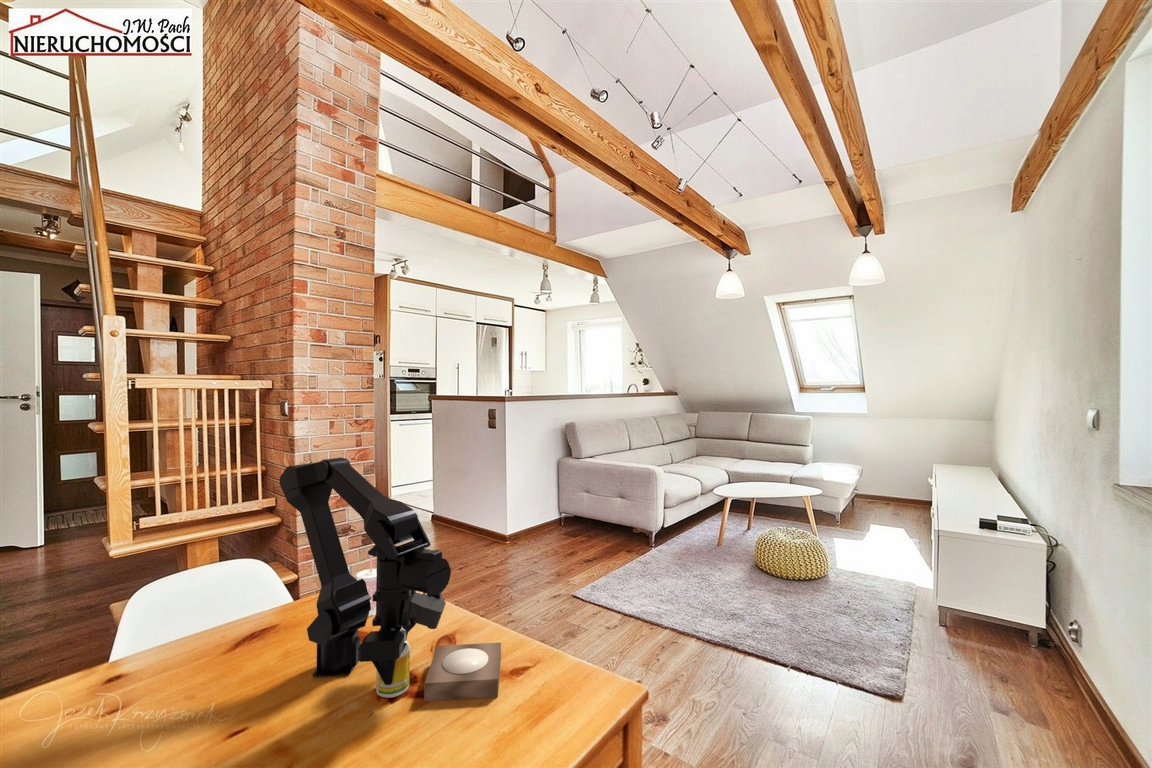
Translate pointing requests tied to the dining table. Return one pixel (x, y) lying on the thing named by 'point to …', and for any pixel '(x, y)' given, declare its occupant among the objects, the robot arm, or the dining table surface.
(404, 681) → the supplement bottle
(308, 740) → the dining table surface
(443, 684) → the brown flat square block
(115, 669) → the dining table surface
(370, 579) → the beverage cup
